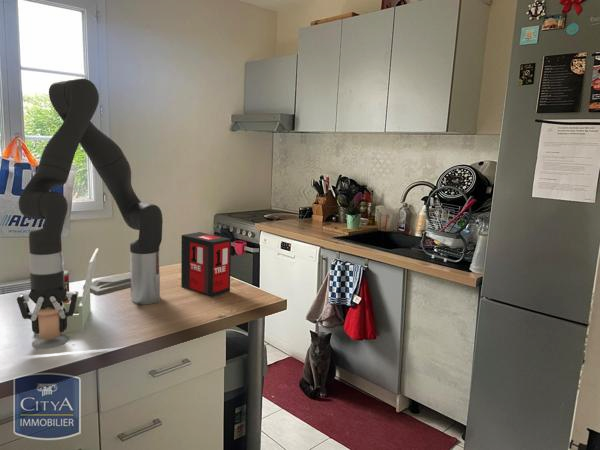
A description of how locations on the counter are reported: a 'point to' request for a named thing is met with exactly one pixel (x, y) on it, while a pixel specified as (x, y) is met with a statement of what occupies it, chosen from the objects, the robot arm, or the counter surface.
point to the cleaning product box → (205, 263)
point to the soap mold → (110, 284)
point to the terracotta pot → (49, 323)
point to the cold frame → (78, 315)
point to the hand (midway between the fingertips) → (50, 331)
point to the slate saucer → (50, 342)
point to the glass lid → (89, 275)
